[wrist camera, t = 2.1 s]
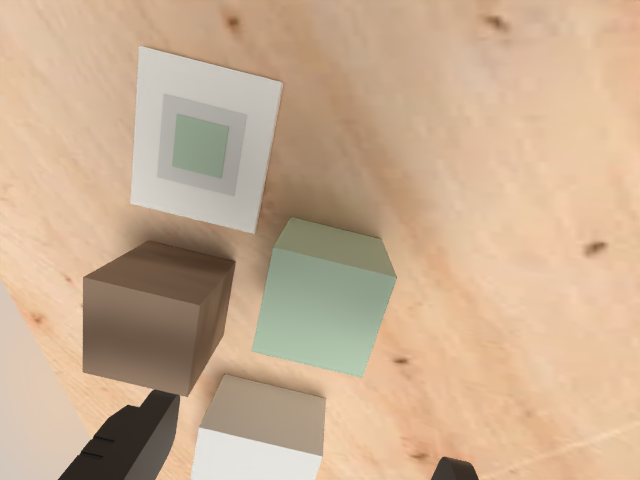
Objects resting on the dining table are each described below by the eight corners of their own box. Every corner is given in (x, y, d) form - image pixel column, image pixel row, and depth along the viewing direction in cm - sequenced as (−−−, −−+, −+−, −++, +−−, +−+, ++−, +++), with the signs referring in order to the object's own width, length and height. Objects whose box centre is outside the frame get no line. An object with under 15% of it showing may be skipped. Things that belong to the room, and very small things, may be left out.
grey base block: (225, 372, 25) (199, 427, 21) (325, 396, 25) (322, 456, 21) (211, 447, 28) (185, 511, 23) (303, 468, 28) (295, 536, 23)
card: (145, 48, 18) (136, 44, 18) (283, 83, 19) (281, 81, 18) (136, 201, 21) (128, 204, 20) (256, 231, 21) (253, 234, 21)
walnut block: (149, 240, 22) (83, 277, 16) (236, 261, 22) (200, 305, 17) (143, 315, 24) (82, 372, 18) (223, 334, 24) (187, 397, 18)
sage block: (291, 216, 21) (273, 247, 15) (381, 238, 21) (396, 277, 15) (273, 297, 23) (251, 351, 17) (356, 317, 23) (362, 377, 17)
